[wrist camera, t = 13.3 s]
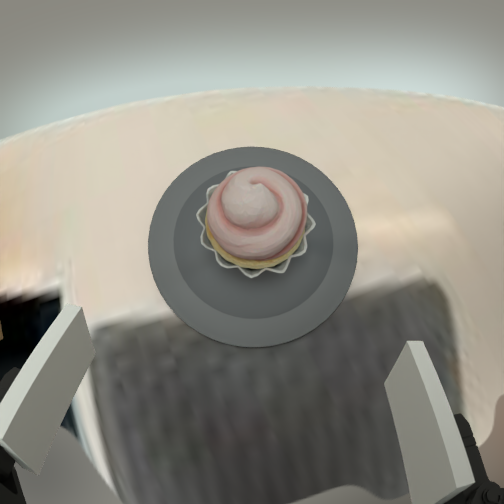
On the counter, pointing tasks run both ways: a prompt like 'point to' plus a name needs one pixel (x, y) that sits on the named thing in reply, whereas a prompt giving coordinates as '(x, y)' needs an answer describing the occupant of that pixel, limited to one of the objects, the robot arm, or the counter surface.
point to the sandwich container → (0, 335)
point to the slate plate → (233, 279)
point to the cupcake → (255, 220)
